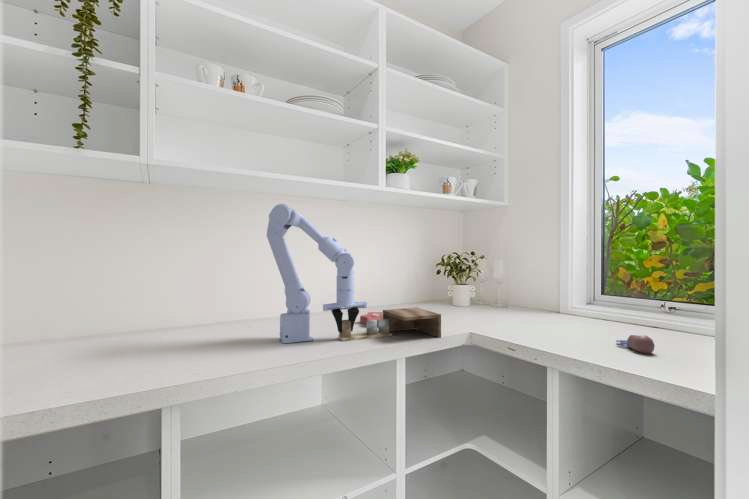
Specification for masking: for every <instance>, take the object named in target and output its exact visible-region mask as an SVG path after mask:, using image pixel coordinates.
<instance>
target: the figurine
mask: <svg viewBox="0 0 749 499" xmlns="http://www.w3.org/2000/svg"><path fill="white" fill-rule="evenodd" d="M615 344H616V345H624V346H627V347H628V348H631V349H633V350H635V351H638V352H639V353H641V354H643V355H652V354H653V352H654V350H655V348H656V347H655V346H656V345H655V342H654V340H653V339H652V338H651V337H649V336H648V335H634V334H630V335H629V336H628V337H627V339H626V340H623V339H620V340H619V339H617V340H615Z"/></svg>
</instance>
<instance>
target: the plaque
mask: <svg viewBox="0 0 749 499" xmlns="http://www.w3.org/2000/svg"><path fill="white" fill-rule="evenodd" d="M359 318H360V319H359V320H360V322H359V323H360V324H363V325H366V321H367V320H377V329H378V320H379V319H383V311H370V312H367V314H363V315H362V314H361V315H360V316H359Z"/></svg>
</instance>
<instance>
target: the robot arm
mask: <svg viewBox="0 0 749 499" xmlns="http://www.w3.org/2000/svg"><path fill="white" fill-rule="evenodd" d="M267 224H268V225H267V229H266V237H267V240H268V243H269V246H270V249H271V251H272V254H273V257H274V260H275V264H276V265H277V268H278V271H279V274H280V276H281V279H282V282H283V284H284V294H285V306H286V309H287V311H286V312H285V313H283V312H282V313H281V314H280V315H279V316H280V317H279V339H280V341H281V342H282V344H290V343H291V344H292V343H300V342H309V341H311V342H312V341H313V340H314V338H313V337H312V335H310V332H311V331H310V330H311V328H310V327H311V323H310V322H311V321H310V320H311V319H310V318H311V315H310V314H311V312H310V308H308V306H310V303H311V295H310V294H309V292H307V291H306V289H305V286H304V285H303V283H302V282H301V281H300V278H299V276H298V273H297V269H296V266H295V265H294V261H293V259H292V256H291V253H290V250H289V248H288V245H287V242H286V239H285V236H286V234H287V232H288V230H289V229H290V228H291V227H295V228H299V229H301V230H302V231H303V232H304V233H305V234H306V235H308V236H309V237H310V238H311V239H312V240H314V242H316V243H317V248H318V250H319V251H320V253H322V254H323V255H324V256H325V257H326V258H327V259H328V260H330V261H331V262H332V263H334V264H335V267H336V302H334V303H332V302H331V303H325V304H322V311H323V312H328V311H331V313H332V315H333V318H334V320H335V323H336V324H335V325H336V327H337V331H338V333H339V332H340V333H342V320H343V314H344V312H343V311H342V310H346V311H347V318H348V319H347V320H350V321H351V333H352V332H353V330H354V326H355V322H356V319H357V317H358V316H359V314H360V309H367V308H368V306H367V305H368V304H367V303H368V302H366V301H355V276H354V274H355V273H354V271H355V270H354V268H353V267H354V265H355V259H354V257H353V256H352V254H351V253H348V252H347V251H348V250H347V248H343V247H342V246H341V245H340V244H339V243H338V242H337V239H336V237H332V236H324V235H323V233H321V232H320V230H318V229H317V228H316V226H314V225H313V224H312V223H311V222H310V221H309V220H308V219H307V218H306V217H305V216H303V215H302V214H300V213H299V212H298V211H296V210H295V209H293V208H292V207H289V206H288V205H286V204H285V203H280V204H279V203H278V204H276V205H275V206H274V207H273V208H272V209H271V210H270V212H269V214H268V223H267Z"/></svg>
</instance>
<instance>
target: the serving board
mask: <svg viewBox="0 0 749 499" xmlns="http://www.w3.org/2000/svg"><path fill="white" fill-rule="evenodd" d="M365 325H366V330H365V331H366V332H358V333H352V332H351V321H350V320H348V319H342V333H340V332H338V333H339V335H338V336H337V337H338V338H337V339H339V340H341V341H342V342H350V341H359V340H367V339H375V338H376V339H377V337H378V338H384V337H385V338H387V337H386V336H388V337H393V333H392V332H391V331H389V319H379V320H378V328H377V320H367V321H366V324H365Z"/></svg>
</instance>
